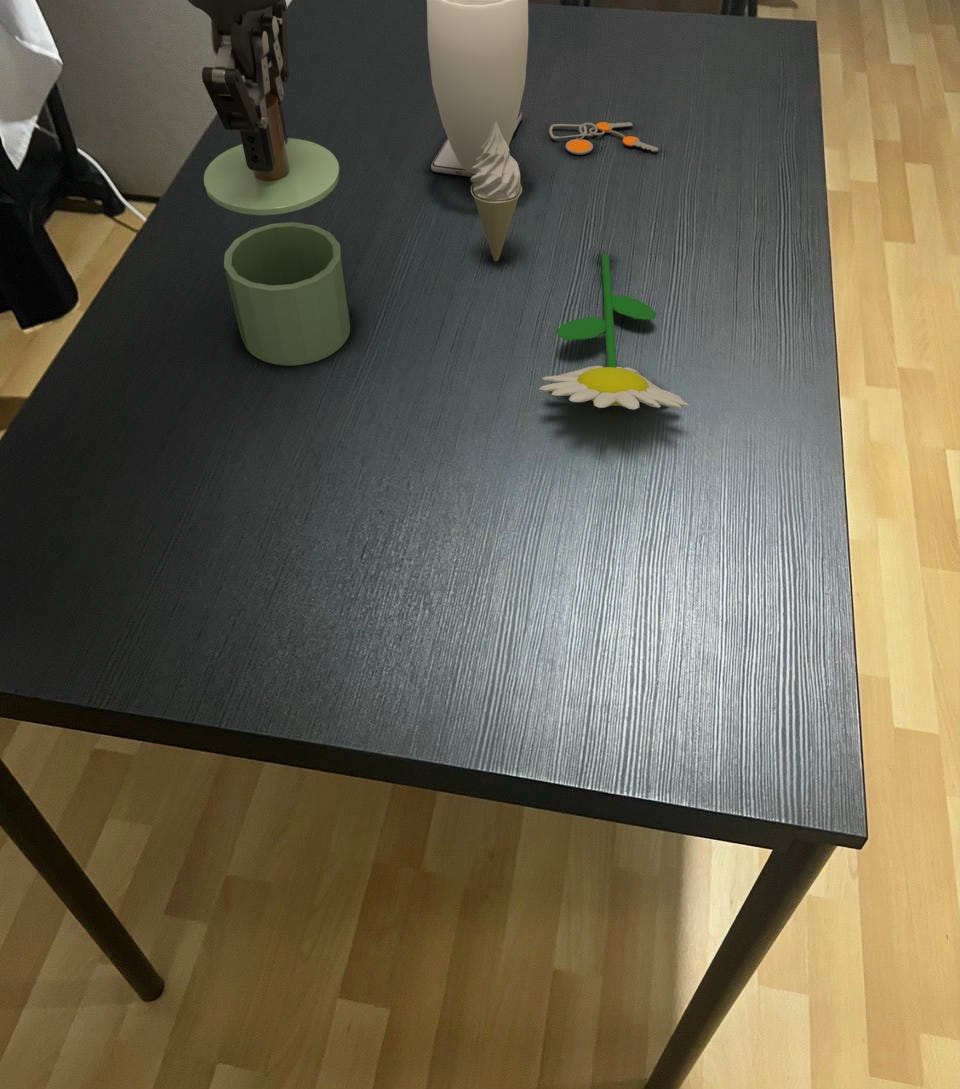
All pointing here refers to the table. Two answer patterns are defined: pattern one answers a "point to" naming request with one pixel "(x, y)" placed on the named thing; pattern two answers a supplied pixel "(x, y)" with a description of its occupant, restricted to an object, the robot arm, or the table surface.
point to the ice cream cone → (496, 189)
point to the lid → (273, 174)
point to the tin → (288, 293)
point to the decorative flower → (609, 360)
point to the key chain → (586, 146)
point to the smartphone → (453, 159)
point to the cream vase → (477, 69)
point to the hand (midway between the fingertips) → (268, 156)
